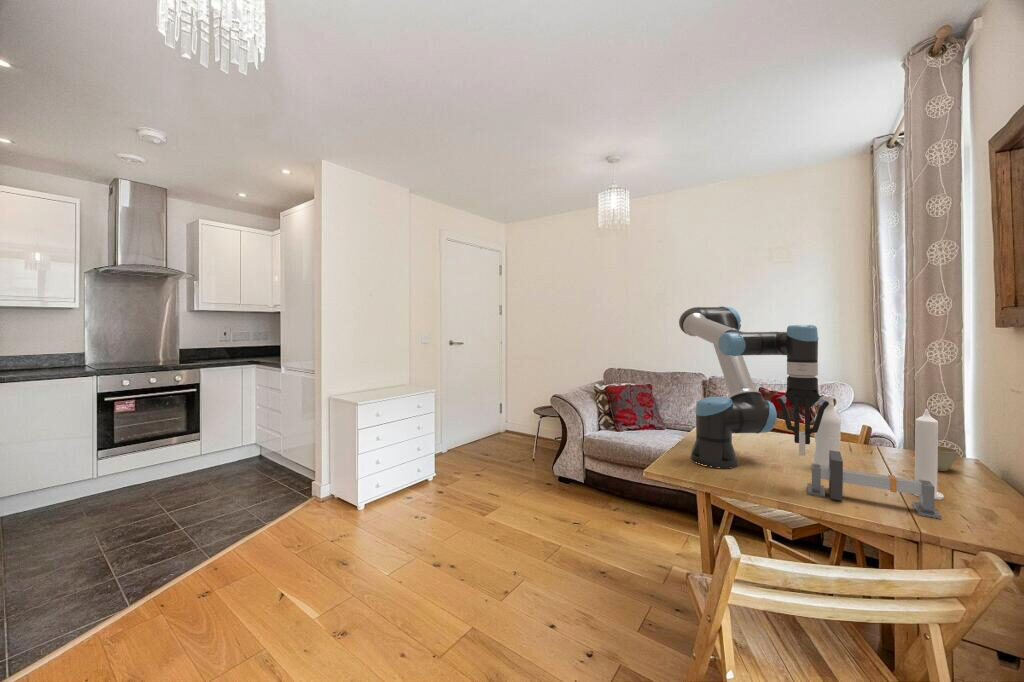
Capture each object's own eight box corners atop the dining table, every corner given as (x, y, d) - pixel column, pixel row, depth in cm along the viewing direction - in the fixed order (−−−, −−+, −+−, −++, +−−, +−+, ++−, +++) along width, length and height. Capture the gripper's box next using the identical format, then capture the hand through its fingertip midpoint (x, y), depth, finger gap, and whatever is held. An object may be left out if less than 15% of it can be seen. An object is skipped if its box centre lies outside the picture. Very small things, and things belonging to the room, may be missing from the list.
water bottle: (841, 474, 131) (841, 399, 130) (813, 470, 135) (814, 397, 134) (840, 468, 136) (840, 396, 136) (813, 464, 141) (814, 394, 140)
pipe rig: (807, 494, 116) (807, 467, 116) (807, 485, 122) (807, 460, 122) (941, 519, 100) (941, 488, 99) (933, 507, 106) (933, 479, 106)
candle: (906, 487, 120) (907, 405, 119) (940, 493, 115) (942, 408, 115) (910, 495, 114) (911, 409, 114) (946, 501, 110) (947, 412, 109)
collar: (830, 498, 111) (831, 459, 111) (828, 486, 120) (829, 450, 120) (842, 500, 110) (842, 461, 110) (839, 488, 119) (839, 451, 118)
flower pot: (937, 464, 140) (938, 444, 140) (967, 474, 130) (967, 452, 130) (906, 463, 141) (907, 443, 141) (934, 473, 131) (934, 452, 131)
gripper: (775, 376, 120) (775, 453, 120) (830, 378, 112) (830, 461, 112) (776, 374, 126) (776, 448, 126) (829, 376, 118) (829, 454, 118)
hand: (802, 454), depth 119 cm, fingers closed
